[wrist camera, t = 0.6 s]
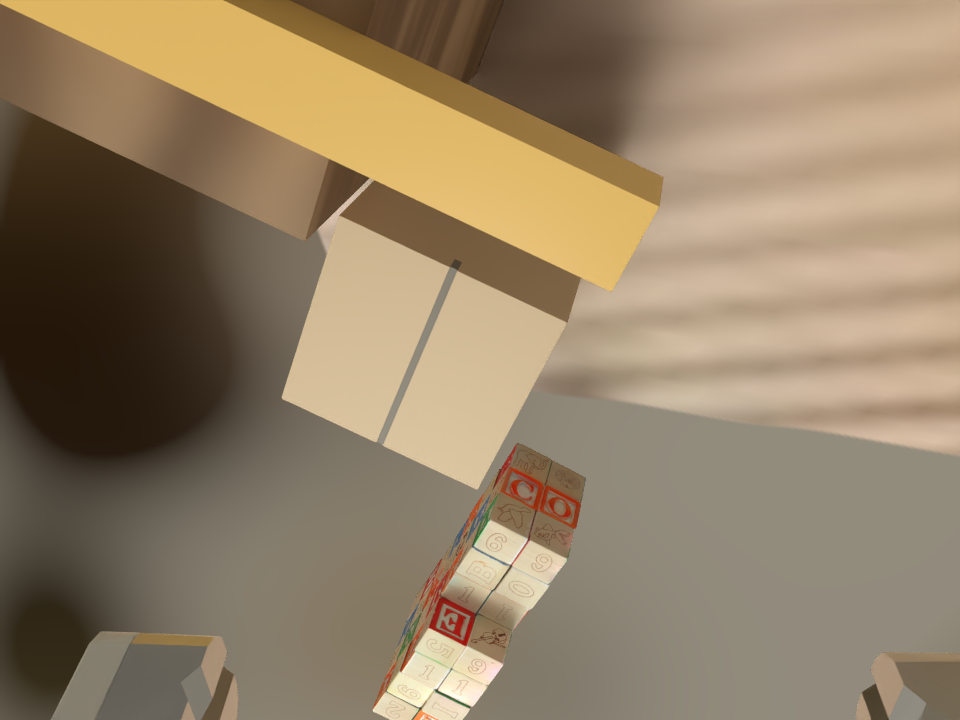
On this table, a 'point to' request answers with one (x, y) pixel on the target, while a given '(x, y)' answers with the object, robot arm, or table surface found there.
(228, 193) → the walnut post
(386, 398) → the cardboard box
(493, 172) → the tan wooden beam
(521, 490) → the stack of blocks
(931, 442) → the table surface
